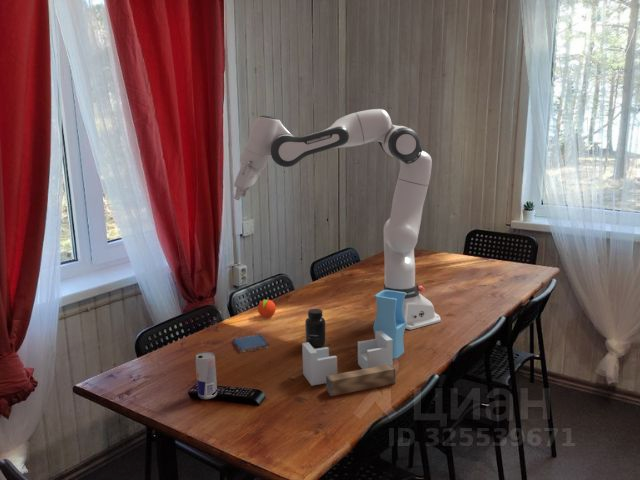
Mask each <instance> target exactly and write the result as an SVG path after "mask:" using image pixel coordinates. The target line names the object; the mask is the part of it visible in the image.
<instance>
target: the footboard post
mask: <svg viewBox="0 0 640 480" xmlns="http://www.w3.org/2000/svg"><path fill="white" fill-rule="evenodd" d="M301 348H302V349H301V350H302V374H303V376H304V377H305V379H306V380H307V381H308V383H309V384H310V386H316V385H317V386H319V385H322V384H326V376H329V375H334V374H338V356H336V355H331V356H330V348H329V347H328V346H325V347H324V346H323V347H318V348H313V347H312V346H311V345H310V343H309V342H307V343H306V342H302V343H301Z"/></svg>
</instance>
